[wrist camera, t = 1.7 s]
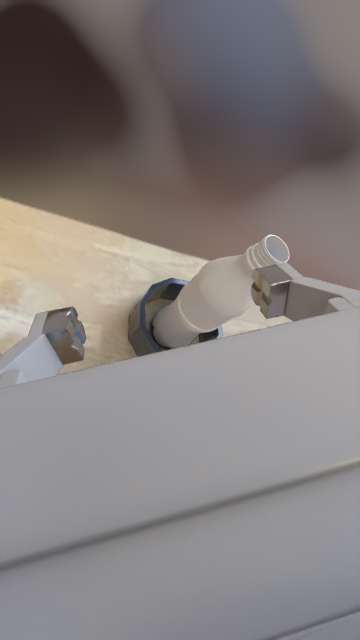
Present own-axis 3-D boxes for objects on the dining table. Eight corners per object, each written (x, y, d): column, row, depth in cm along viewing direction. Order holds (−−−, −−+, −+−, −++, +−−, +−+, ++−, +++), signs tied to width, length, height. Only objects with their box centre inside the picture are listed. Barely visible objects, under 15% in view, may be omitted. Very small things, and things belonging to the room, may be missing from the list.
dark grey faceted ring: (111, 341, 40) (121, 329, 35) (153, 280, 47) (166, 263, 42) (184, 388, 43) (202, 383, 38) (213, 323, 50) (232, 312, 45)
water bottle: (145, 311, 45) (238, 207, 24) (183, 312, 48) (294, 223, 27) (150, 353, 42) (256, 280, 21) (189, 351, 46) (315, 287, 25)
